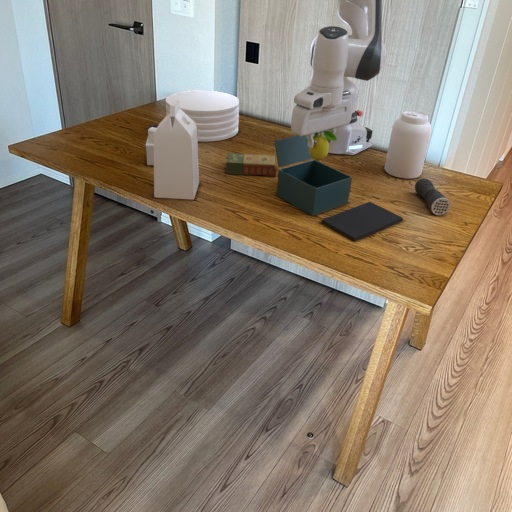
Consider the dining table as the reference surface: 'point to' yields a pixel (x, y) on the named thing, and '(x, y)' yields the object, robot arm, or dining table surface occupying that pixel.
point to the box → (313, 186)
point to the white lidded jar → (408, 145)
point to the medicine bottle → (150, 144)
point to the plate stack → (209, 112)
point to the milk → (176, 156)
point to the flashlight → (432, 197)
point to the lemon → (321, 145)
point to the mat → (361, 221)
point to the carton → (251, 164)
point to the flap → (292, 150)
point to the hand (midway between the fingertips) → (319, 144)
